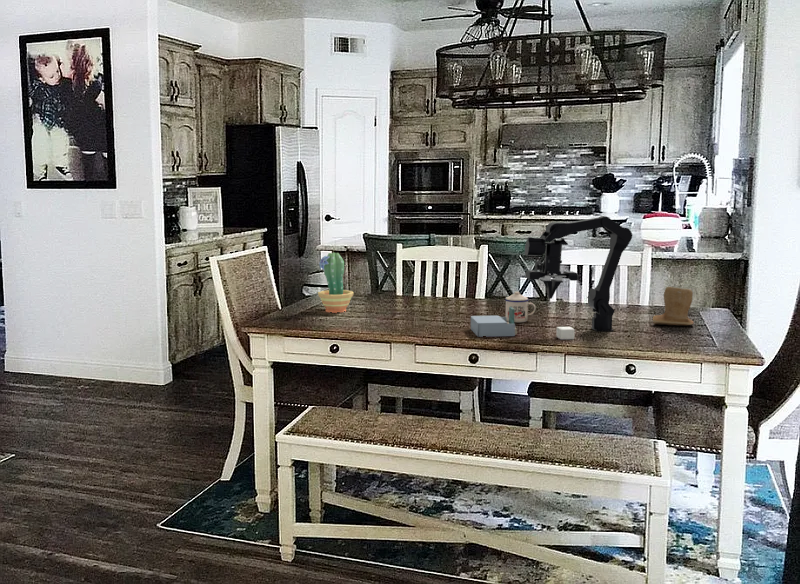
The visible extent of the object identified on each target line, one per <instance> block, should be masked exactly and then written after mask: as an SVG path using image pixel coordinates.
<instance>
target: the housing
mask: <svg viewBox="0 0 800 584" xmlns="http://www.w3.org/2000/svg"><path fill="white" fill-rule="evenodd" d="M507 322H508V321H506V316H499V315H471V316H470V330H471V331H472V332H473V333H474V334H475V335H476V337H478V338H479V337H482V338H484V337H483V336H486V337H515V336H516V334H515V328H516V324H515V323H514V324H507ZM486 337H485V338H486Z"/></svg>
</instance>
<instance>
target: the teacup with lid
mask: <svg viewBox="0 0 800 584" xmlns="http://www.w3.org/2000/svg"><path fill="white" fill-rule="evenodd" d="M504 300H505V317H506V322H509V307H512V308H513V309H514V323H525V322H527V321H528V316H532V315H534V313H535V311H536V308H537V307H536V305H535V304H534V303H533V302H529V298H528V297H527V296H524V295H522V294H521V293H520V291H514V293H512V294H511V295H510V296H506V297H505V299H504ZM529 305H531V306H533V310H532V311H531V312H528V310H529V309H528V306H529Z"/></svg>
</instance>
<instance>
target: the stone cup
mask: <svg viewBox="0 0 800 584" xmlns="http://www.w3.org/2000/svg"><path fill="white" fill-rule="evenodd" d="M693 296H694V295H693V291H692V289H690V288H683V287H676V286H666V287H665V290H664V293H663V301H664V302H663V303H664V313H662V314H657V315H656V314H655V315H654V316H653V317H652V324H654V325H662V326H663V325H664V326H693V325H694V323H695V322H694V320H692V319H691V318H689V314H688V313H689V310H690V308H691V306H692V302H693Z"/></svg>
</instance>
